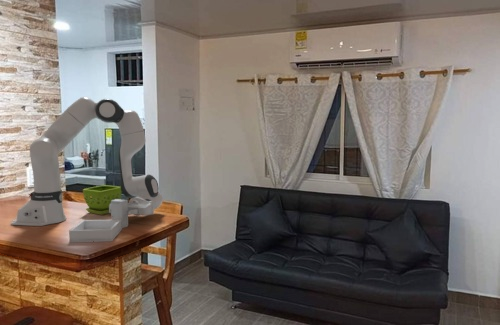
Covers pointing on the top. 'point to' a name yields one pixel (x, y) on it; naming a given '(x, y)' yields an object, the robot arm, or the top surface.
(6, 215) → the top surface
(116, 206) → the skincare box
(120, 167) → the robot arm
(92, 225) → the grey square tray
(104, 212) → the flower pot
